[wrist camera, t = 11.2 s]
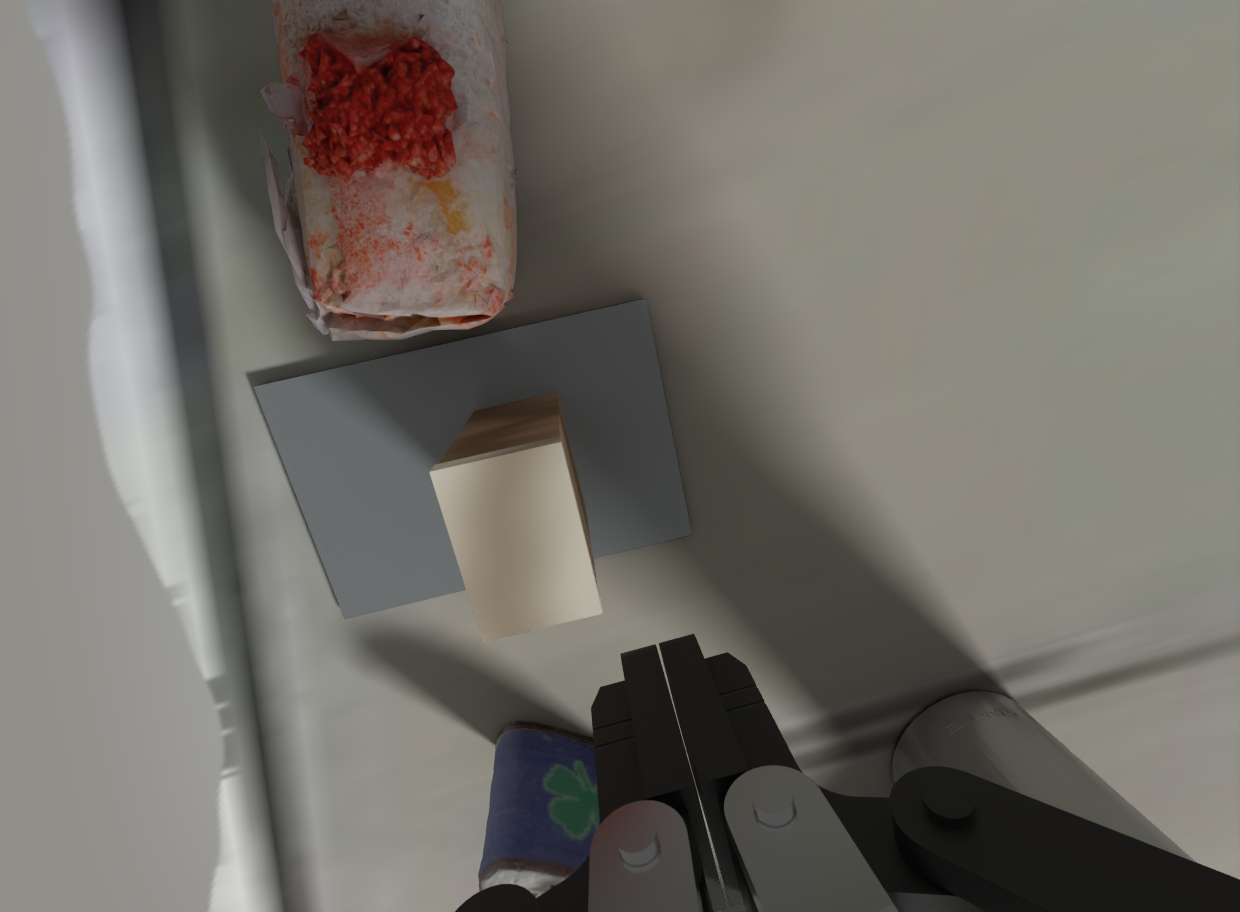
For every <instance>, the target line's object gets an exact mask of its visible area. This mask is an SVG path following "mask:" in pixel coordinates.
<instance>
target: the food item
mask: <svg viewBox="0 0 1240 912" xmlns="http://www.w3.org/2000/svg"><path fill="white" fill-rule="evenodd" d="M271 2H272V9H273V28H274V35H275V39H276V43H277V47H278V55H279V63H280V70H281V76H282V81H283V83H280V82H276V81H273V82H272V83H270V84H268V85H267V86H265V87H263V88H262V89H260V91H261V94H262V96H263V98H264V101H265V103H266V105H267V108H268V110H269V112H270V113H272V114H273V115H275V116H277V117H278V118H280V119H281V121H282V124H283V127H284V129H285V132H286V133H288V134H289V137H290V142H291V143H290V147H289V149H288V154H289V159H290V163H291V167H292V171H291V174H290V177H289V178H288V180H287V182H286V184H285V186H284V188H285V193H286V195H285V197H284V198H283V196H282V194H281V192H280V190H279V173H278V163H277V161H276V160H275V159H274V157H273V156H272V154H271V153H270V151H269V150H268V147H267V145H266V142H265V139H264V136H263V134H262V131H261V128H260V144H261V149H262V154H263V160H264V165H265V170H266V178H267V186H268V193H269V198H270V202H271V207H272V213H273V219H274V225H275V231H276V233H277V235H278V237H279V239H280V241H281V243H282V245H283V247H284V249H285V251H286V253H287V255H288V257H289V260H290V264H291V268H292V272H293V276H294V280H295V283H296V285H297V287H298V289H299V291H300V293H301V294H302V296H303V298H304V300H305V302H306V303H307V305H308V307H309V309H308V311H307V312H306V315H307V316H308V317H309V319H310V320H311V322H312V323H313V325H314V326H315V328H316V329H317V330H319V331H320V332H321V333H322V334H323V335H329V336H330V338H331V339H332V341H352V340H403V339H407V338H410V337H413V336H417V335H420V334H423V333H427V332H430V331H434V330H449V329H471V328H473V327H476V326H479V325H482V324H484V323H486V322H488V321H489V320H491V319H492V318H493V317H495V316H496V315H497V314H498V313H499V312H500V311H501V310H502V309H503V308H504V307H505V305H504V303H505V302H507V301H508V300H510V299H514V293H513V291H512V289H513V287H514V284H515V277H516V264H517V243H518V238H517V211H516V189H515V179H518V169H514V155H513V144H512V139H511V131H510V107H509V94H508V90H507V85H506V75H507V54H506V43H505V42H507V41H506V40H505V31H504V22H503V13H502V4H501V0H271ZM268 89H269V91H270V94H271V95H270V94H268V93H266V91H267V90H268ZM286 125H287V127H286Z"/></svg>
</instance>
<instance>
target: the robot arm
mask: <svg viewBox="0 0 1240 912" xmlns="http://www.w3.org/2000/svg"><path fill="white" fill-rule="evenodd" d="M659 646H660V650H661V654H662V658H663V662H664V666H665V670H666V674H667V678H668V682H669V686H670V690H671V694H672V698H673V702H674V706H675V710H676V713H677V717H678V721H679V725H680V729H681V732H682V736H683V740H684V743H685V747H686V750H687V754H688V757H689V761H690V765H691V768H692V772H693V775H694V779H695V782H696V786H697V789H698V793H699V796H700V800H701V803H702V807H703V811H704V814H705V818H706V821H707V825H708V828H709V832H710V835H711V839H712V842H713V846H714V850H715V853H716V857H717V860H718V864H719V867H720V871H721V874H722V878H723V881H724V885H725V889H726V892H727V896H728V899H729V903H730V906H733V905H737V904H740V903H744V904H745V907H746V911H747V912H1240V880H1239V879H1237V878H1234V877H1232V876H1229V875H1227V874H1224V873H1221V872H1219V871H1216V870H1214V869H1211V868H1209V867H1206V866H1204V865H1201V864H1199V863H1196V862H1195V861H1194V860H1193V859H1192V858H1191V857H1190V856H1189V855H1187V854H1186V853H1185V852H1184V851H1183V850H1182V849H1181V848H1180V847H1178V846H1177V845H1176V844H1175V843H1174V842H1173V841H1172V840H1171V839H1169V838H1168V837H1167V836H1166V835H1165V834H1164V833H1163V832H1162V831H1160V830H1159V829H1158V828H1157V827H1156V826H1155V825H1154V824H1152V823H1151V822H1150V821H1149V820H1148V819H1147V818H1146V817H1145V816H1143V815H1142V814H1141V813H1140V812H1139V811H1138V810H1137V809H1136V808H1134V807H1133V806H1132V805H1131V804H1130V803H1129V802H1128V801H1127V800H1125V799H1124V798H1123V797H1122V796H1121V795H1120V794H1119V793H1118V792H1116V791H1115V790H1114V789H1113V788H1112V787H1111V786H1110V785H1108V784H1107V783H1106V782H1105V781H1104V780H1103V779H1102V778H1101V777H1099V776H1098V775H1097V774H1096V773H1095V772H1094V771H1093V770H1092V769H1090V768H1089V767H1088V766H1087V765H1086V764H1085V763H1084V762H1083V761H1081V760H1080V759H1079V758H1078V757H1077V756H1076V755H1075V754H1073V753H1072V752H1071V751H1070V750H1069V749H1068V748H1067V747H1066V746H1065V745H1063V744H1062V743H1061V742H1060V741H1059V740H1058V739H1057V738H1055V737H1054V736H1053V735H1052V734H1051V733H1050V732H1049V731H1047V730H1046V729H1045V728H1044V727H1043V726H1042V725H1041V724H1039V723H1038V722H1037V721H1036V720H1035V719H1034V718H1033V717H1031V716H1030V715H1029V714H1028V713H1027V712H1026V711H1025V710H1024V709H1022V708H1021V707H1020V706H1019V705H1018V704H1017V703H1016V702H1015V701H1013V700H1011V699H1009V698H1008V697H1006V696H1004V695H1001V694H997V693H993V692H989V691H972V692H966V693H960V694H957V695H954V696H951V697H948V698H945V699H943V700H941V701H939V702H938V703H936V704H934V705H932V706H930V707H929V708H928V709H926V710H925V711H924V712H923V713H921V714H920V715H919V716H918V717H916V719H915V720H914V721H913V722H912V723H911V724H910V725H909V726H908V727H907V729H906V730H905V732H904V733H903V735H902V737H901V738H900V740H899V741H898V744H897V747H896V749H895V752H894V755H893V762H892V775H893V781H894V786H893V789H892V791H891V796H890V798H879V797H852V796H845V795H840V794H836V793H833V792H830V791H828V790H826V789H824V788H822V787H820V786H818V785H817V784H816V783H815V782H814V781H813V780H812V779H811V778H809V777H808V776H807V775H805V774H804V773H803V772H802V771H801V770H800V768H799V767H798V765H797V764H796V762H795V760H794V758H793V756H792V754H791V752H790V750H789V748H788V746H787V744H786V742H785V740H784V738H783V736H782V734H781V732H780V730H779V728H778V727H777V725H776V723H775V721H774V719H773V717H772V715H771V713H770V711H769V709H768V707H767V705H766V704H765V702H764V699H763V697H762V695H761V693H760V691H759V689H758V688H757V687H756V684H755V682H754V680H753V678H752V676H751V674H750V672H749V670H748V668H747V666H746V665H745V664H743V663H742V662H741V661H739V660H738V659H736V658H735V657H733V656H732V655H731V654H729V653H728V652H727V653H724V654H720V655H716V656H713V657H709V658H705V659H704V657H703V654H702V652H701V649H700V647H699V644H698V642H697V639H696V637H695V635H694V634H691V635H688V636H684V637H680V638H676V639H673V640H669V641H665V642H662V643H659ZM621 660H622V666H623V672H624V678H625V681H621V682H618V683H614V684H610V685H606V686H603V687H600V689H599V691H598V694H597V696H596V698H595V700H594V703H593V705H592V707H591V713H592V726H593V739H594V748H595V751H594V752H595V765H596V779H597V792H598V805H599V818H600V826H599V827H598V829H597V830H596V832H595V834H594V837H593V839H592V843H591V847H590V854H589V856H588V857H587V859H586V860H585V861H584V862H583V864H582V865H581V866H580V867H579V868H578V869H577V870H576V871H575V872H574V873H573V874H572V875H570V876H569V877H568V878H566V879H565V880H563V881H562V882H560V883H559V884H557V885H556V886H554V887H553V888H551V889H549V890H548V891H546V892H545V893H543V894H542V895H540V896H538V897H537V898H535V896H534V895H533V894H532V893H531V892H530V891H529V890H527V889H526V888H524V887H522V886H519V885H515V884H499V885H495V886H491V887H489V888H486V889H484V890H482V891H480V892H478V893H476V894H475V895H473V896H472V897H471V898H469V899H468V900H466V901H465V902H464V903H463V904H462V905H461V906H460V907H459V908H458V909H457V910H456V911H455V912H714V911H717V910H720V909H724V908H726V905H725V901H724V897H723V893H722V889H721V885H720V881H719V877H718V873H717V869H716V865H715V862H714V858H713V854H712V850H711V846H710V842H709V838H708V834H707V830H706V826H705V822H704V818H703V814H702V810H701V806H700V802H699V798H698V794H697V790H696V787H695V783H694V779H693V776H692V772H691V769H690V765H689V761H688V758H687V754H686V751H685V747H684V743H683V740H682V736H681V733H680V729H679V726H678V722H677V718H676V715H675V711H674V708H673V704H672V701H671V697H670V693H669V690H668V686H667V683H666V679H665V676H664V672H663V668H662V665H661V661H660V658H659V654H658V651H657V647H656V644H655V645H651V646H647V647H644V648H640V649H636V650H633V651H629V652H625V653H621Z"/></svg>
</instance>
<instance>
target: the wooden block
mask: <svg viewBox="0 0 1240 912" xmlns="http://www.w3.org/2000/svg"><path fill="white" fill-rule="evenodd" d="M429 473H430V476H431V479H432V482H433V486H434V489H435V492H436V495H437V498H438V502H439V505H440V508H441V511H442V514H443V518H444V521H445V524H446V527H447V530H448V533H449V537H450V540H451V543H452V546H453V549H454V553H455V556H456V559H457V562H458V565H459V568H460V572H461V575H462V578H463V581H464V584H465V588H466V591H467V594H468V597H469V600H470V604H471V607H472V610H473V613H474V616H475V619H476V623H477V626H478V629H479V632H480V635H481V639H482V642H483V643H484V642H488V641H492V640H496V639H500V638H505V637H509V636H513V635H517V634H521V633H525V632H529V631H533V630H538V629H542V628H546V627H550V626H554V625H558V624H562V623H566V622H571V621H575V620H579V619H583V618H587V617H591V616H595V615H599V614H603V611H602V604H601V599H600V595H599V591H598V587H597V580H596V574H595V567H594V560H593V553H592V546H591V539H590V532H589V525H588V518H587V512H586V506H585V502H584V498H583V494H582V490H581V485H580V481H579V477H578V473H577V469H576V465H575V460H574V456H573V452H572V448H571V444H570V440H569V435H568V431H567V427H566V423H565V419H564V415H563V410H562V406H561V402H560V398H559V394H558V392H556V393H552V394H547V395H543V396H538V397H534V398H529V399H525V400H520V401H516V402H511V403H507V404H503V405H498V406H494V407H489V408H485V409H480V410H476V411H474V412H473V413H472V415H471V416H470V418H469V419H468V421H467V422H466V424H465V425H464V426H463V428H462V429H461V431H460V432H459V434H458V435H457V437H456V438H455V440H454V441H453V442H452V444H451V445H450V447H449V448H448V450H447V451H446V453H445V454H444V455H443V457H442V458H441V460H440V461H439V463H438V464H435V465H434V466H433V467H432V469H431V470H430V472H429Z"/></svg>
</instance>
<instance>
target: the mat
mask: <svg viewBox="0 0 1240 912" xmlns="http://www.w3.org/2000/svg"><path fill="white" fill-rule="evenodd" d="M254 390H255V392H256V395H257V397H258V400H259V403H260V405H261V408H262V410H263V413H264V415H265V418H266V420H267V423H268V425H269V428H270V431H271V433H272V436H273V438H274V441H275V443H276V446H277V448H278V451H279V454H280V456H281V459H282V461H283V464H284V466H285V469H286V471H287V474H288V476H289V479H290V482H291V484H292V487H293V489H294V492H295V494H296V497H297V499H298V502H299V504H300V507H301V510H302V512H303V515H304V517H305V520H306V522H307V525H308V527H309V530H310V533H311V535H312V538H313V540H314V543H315V545H316V548H317V550H318V553H319V555H320V558H321V561H322V563H323V566H324V568H325V571H326V573H327V576H328V578H329V581H330V583H331V586H332V589H333V591H334V594H335V596H336V599H337V601H338V604H339V606H340V609H341V612H342V614H343V617H344V619H348V618H352V617H356V616H360V615H364V614H368V613H372V612H376V611H381V610H385V609H389V608H393V607H397V606H401V605H405V604H409V603H413V602H418V601H422V600H426V599H430V598H434V597H438V596H442V595H446V594H450V593H455V592H459V591H463V590H466V588H465V584H464V581H463V578H462V575H461V572H460V568H459V565H458V562H457V559H456V556H455V553H454V549H453V546H452V543H451V540H450V537H449V533H448V530H447V527H446V524H445V521H444V518H443V514H442V511H441V508H440V505H439V502H438V498H437V495H436V492H435V489H434V486H433V482H432V479H431V476H430V473H429V472H430V470H431V469H432V467H433V466H434V465H435V464H438V463H439V461H440V460H441V458H442V457H443V455H444V454H445V453H446V451H447V450H448V448H449V447H450V445H451V444H452V442H453V441H454V440H455V438H456V437H457V435H458V434H459V432H460V431H461V429H462V428H463V426H464V425H465V424H466V422H467V421H468V419H469V418H470V416H471V415H472V413H473V412H474V411H476V410H480V409H485V408H489V407H494V406H498V405H503V404H507V403H511V402H516V401H520V400H525V399H529V398H534V397H538V396H543V395H547V394H552V393H556V392H558V394H559V398H560V402H561V406H562V410H563V415H564V419H565V423H566V427H567V431H568V435H569V440H570V444H571V448H572V452H573V456H574V460H575V465H576V469H577V473H578V477H579V481H580V485H581V490H582V494H583V498H584V502H585V506H586V512H587V518H588V525H589V532H590V539H591V546H592V553H593V559H594V558H598V557H602V556H607V555H611V554H615V553H619V552H623V551H627V550H631V549H635V548H639V547H643V546H648V545H652V544H656V543H660V542H664V541H668V540H672V539H676V538H680V537H685V536H689V535H692V532H691V527H690V522H689V516H688V511H687V506H686V501H685V496H684V491H683V486H682V480H681V475H680V470H679V465H678V460H677V455H676V449H675V444H674V439H673V434H672V429H671V424H670V419H669V413H668V408H667V403H666V398H665V393H664V388H663V383H662V377H661V372H660V367H659V362H658V357H657V352H656V347H655V341H654V336H653V331H652V326H651V321H650V316H649V311H648V305H647V300H646V299H640V300H636V301H631V302H627V303H622V304H618V305H614V306H609V307H605V308H600V309H596V310H591V311H587V312H582V313H578V314H573V315H569V316H565V317H560V318H556V319H551V320H547V321H542V322H538V323H533V324H529V325H524V326H520V327H516V328H511V329H507V330H502V331H498V332H493V333H489V334H484V335H480V336H475V337H471V338H467V339H462V340H458V341H453V342H449V343H444V344H440V345H435V346H431V347H426V348H422V349H418V350H413V351H409V352H404V353H400V354H395V355H391V356H386V357H382V358H378V359H373V360H369V361H364V362H360V363H355V364H351V365H346V366H342V367H337V368H333V369H329V370H324V371H320V372H315V373H311V374H306V375H302V376H297V377H293V378H288V379H284V380H280V381H275V382H271V383H266V384H262V385H258V386H255V387H254Z"/></svg>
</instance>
